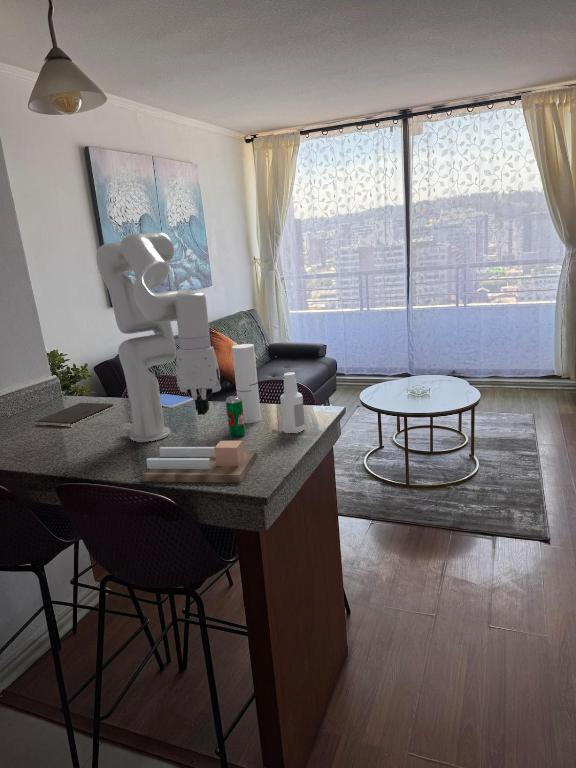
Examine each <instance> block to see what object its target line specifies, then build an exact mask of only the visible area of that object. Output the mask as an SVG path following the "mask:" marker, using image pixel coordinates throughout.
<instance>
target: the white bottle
mask: <svg viewBox="0 0 576 768" xmlns="http://www.w3.org/2000/svg"><path fill="white" fill-rule="evenodd" d="M283 392H284V393H282V394H281V395H280V396H279V397H280V398H279V399H280V410H281V412H280V413H281V422H282V423H281V424H282V431H283V432H284V433H285V434H288V433H289V434H288V435H290V433H296V434H299V433H298V432H300V433H302V432H301V431H303V430H304V429H305V430H306V422H305V412H304V411H305V410H304V397H303V394H302V393H301V392H299V391H298V383H297V379H296V373H295V372H293V371H292V372H291V371H290V372H285V373H284V374H283ZM305 430H304V431H305ZM304 431H303V432H304Z"/></svg>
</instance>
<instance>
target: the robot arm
mask: <svg viewBox="0 0 576 768" xmlns="http://www.w3.org/2000/svg"><path fill="white" fill-rule="evenodd" d="M174 247H175V246H174V243H173V241H172V239H171V238H170V236H169V235H167V234H166V233H164V232H158V231H156V232H138V233H132V234H129V235H126V236H125V237H124V238H123V239H121V241H115V242H114V241H113V242H109V243H104V244H102V245H100V247H98V249H97V251H96V255H95V256H96V257H95V258H96V265H97V268H98V272H99V274H100V276H101V278H102V280H103V281H104V284H105V285H106V288H107V290H108V292H109V297H110V301H111V304H112V305H111V306H112V309H113V314H114V319H115V321H116V326H117V328H118V330H119V332H120V333H122V334H126V335H128V334H129V335H132V334H139V333H144V332H145V333H146V332H150V331H151V332H153V333H154V334H152V335H150V334H148V335H143V336H142V335H141V336H138V337H133V338H132V337H130V338H128V339H126V340H123V341H122V342H121V343H120V344H119V346H118V349H117V353H118V358H119V361H120V364H121V367H122V370H123V374H124V378H125V383H126V389H127V396H128V402H129V408H130V414H131V421H132V423H130V422H129V423H128V422H127V423H123V424H122V431H123V432H130V433H129V440H130V439H131V440H130V441H132V440H133V441H132V442H134V441H136V442H135V443H150V442H149V441H151V442H154V441H155V440H156V441H159V440H162V439H164V438H166V437H168V436H170V434H171V429H170V427H168V426H165V421H164V420H165V419H164V412H163V407H162V405H161V398H160V394H161V393H160V386H159V380H158V379H157V377H156V375H155V374H154V373H153V372H152V371H150V369H149V368H150V367H151V368H152V367H154V366H160V365H164V364H168V363H171V362H173V361H174V360H175V359H176V360H175V361H176V363H175V365H176V366H175V369H176V370H175V371H176V382H177V383H176V384H177V386H178V388H179V391H180V392H182V393H185V394H189V396H191V398H193V399H194V400H193V401H194V403H195V411H197V415H198V416H200V415H201V416H204V415H206V414H207V413H208V412H209V409H210V404H209V397H210V396H211V394H212V393H217V392H220V391H221V390H222V386H221V376H220V375H221V374H220V368H219V362H218V359H217V354H216V351H215V347H214V346H211V336H210V335H211V334H210V326H209V317H208V306H207V298H206V296H205V294H204V293H203V292H200V291H193V290H190V289H178V290H169V291H161V292H151V291H152V290H154V289H156V288H157V287H159V286H161V285H162V284H163V283H164V282H165V281H166V280H167V278H168V275H169V271H170V270H169V269H170V268H169V266H168V263H169V262H171V261H172V259H173V258H174V254H175V248H174ZM129 271H133V273H134V275H135V276H136V278H135V281H134V279H132V278H131V276H129V275H128V274H126V273H125V272H129ZM175 321H176V324H177V331H178V332H177V333H178V337H177V338H175V337H174V333H173V332H174V331H173V327H172V324H171V322H175ZM176 345H178V347H179V348H178V349H177V346H176Z"/></svg>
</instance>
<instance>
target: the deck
mask: <svg viewBox="0 0 576 768" xmlns="http://www.w3.org/2000/svg"><path fill="white" fill-rule="evenodd" d="M243 451H244V460H243V461H242V463H241V464H240V465H239V466H216V458H215V457H161V456H160V457H159V458H210V464H211V468H210V469H148V468H146V470H145V471H142V473H141V478H142V479H141V480H142V482H145V483H146V482H147V481H148V482H152V483H155V482H160V483H161V482H162V483H163V482H164V483H165V482H166V483H238V484H240V483H242V482H243V480H244V478H245V477H246V475H247V474H248V472H249V471H250V470H251V468H252V467H253V465H254V463H255V461H256V460H257V458H258V453H257V450H243ZM148 482H147V483H148Z"/></svg>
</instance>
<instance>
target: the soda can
mask: <svg viewBox="0 0 576 768" xmlns="http://www.w3.org/2000/svg"><path fill="white" fill-rule="evenodd" d="M225 409H226V419H227V427H228V436H230V437H231V438H233V439H234V438H235V439H236V438H242V437H244V436H245V434H246V425H245V424H246V423H244V413H243V404H242V399H241V397H240V396H237V395H233V396H228V397H226V400H225Z"/></svg>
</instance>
